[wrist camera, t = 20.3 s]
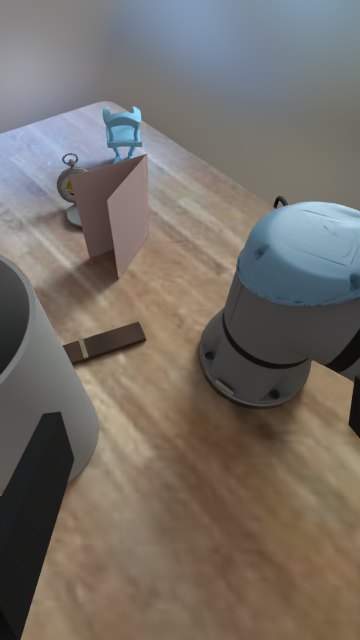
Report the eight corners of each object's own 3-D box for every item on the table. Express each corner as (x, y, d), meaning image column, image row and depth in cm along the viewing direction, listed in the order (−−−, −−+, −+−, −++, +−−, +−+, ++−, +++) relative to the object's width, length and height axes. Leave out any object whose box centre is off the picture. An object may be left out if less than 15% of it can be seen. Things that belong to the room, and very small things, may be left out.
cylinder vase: (74, 369, 43) (-3, 220, 22) (117, 452, 38) (71, 361, 17) (-24, 419, 39) (-234, 295, 18) (10, 521, 34) (-231, 514, 13)
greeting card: (146, 231, 58) (144, 150, 46) (167, 258, 55) (171, 179, 43) (87, 254, 54) (67, 172, 42) (107, 284, 51) (91, 205, 39)
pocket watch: (88, 234, 57) (77, 184, 49) (52, 216, 59) (35, 164, 50) (117, 210, 61) (111, 159, 53) (82, 193, 63) (71, 142, 55)
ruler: (139, 324, 48) (138, 321, 47) (146, 340, 46) (145, 337, 46) (-39, 380, 41) (-42, 378, 41) (-37, 401, 40) (-40, 399, 39)
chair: (142, 156, 71) (139, 95, 61) (146, 178, 67) (144, 117, 57) (106, 157, 70) (98, 95, 60) (108, 180, 66) (100, 117, 56)
